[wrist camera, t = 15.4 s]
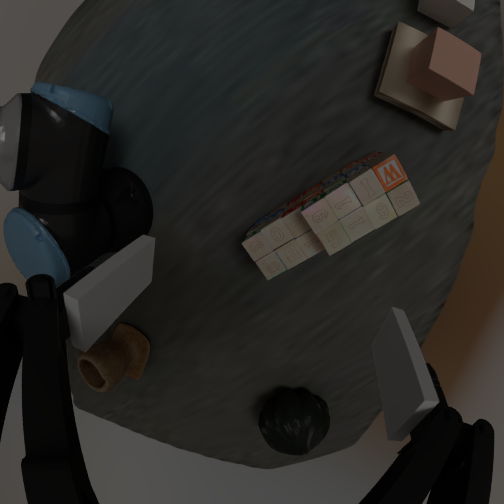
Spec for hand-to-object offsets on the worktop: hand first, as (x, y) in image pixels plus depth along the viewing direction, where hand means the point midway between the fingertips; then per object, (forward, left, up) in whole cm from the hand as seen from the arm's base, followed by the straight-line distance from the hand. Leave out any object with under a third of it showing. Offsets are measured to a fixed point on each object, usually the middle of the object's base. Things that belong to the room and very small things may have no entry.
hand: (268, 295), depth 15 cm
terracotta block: (+12, +24, -26) cm, 37 cm away
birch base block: (+12, +23, -30) cm, 40 cm away
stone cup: (-24, -45, -31) cm, 59 cm away
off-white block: (+12, +38, -31) cm, 50 cm away
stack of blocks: (+4, 0, -31) cm, 31 cm away
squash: (+16, -42, -31) cm, 54 cm away
